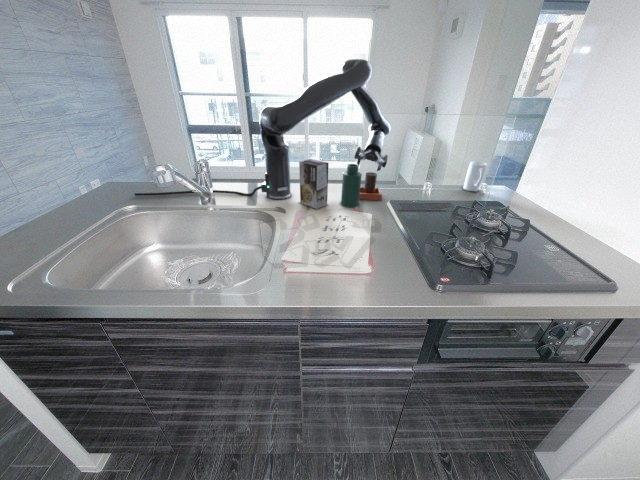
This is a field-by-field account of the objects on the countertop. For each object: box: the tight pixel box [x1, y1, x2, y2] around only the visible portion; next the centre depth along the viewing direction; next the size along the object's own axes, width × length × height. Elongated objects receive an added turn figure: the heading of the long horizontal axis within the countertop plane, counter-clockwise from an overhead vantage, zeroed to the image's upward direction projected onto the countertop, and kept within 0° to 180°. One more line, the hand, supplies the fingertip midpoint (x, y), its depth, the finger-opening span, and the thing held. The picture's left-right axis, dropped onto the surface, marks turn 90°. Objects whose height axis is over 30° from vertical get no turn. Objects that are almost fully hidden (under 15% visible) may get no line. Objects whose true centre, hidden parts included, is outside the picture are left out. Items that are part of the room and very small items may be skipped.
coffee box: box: [298, 158, 329, 210], centre depth 99 cm, size 9×6×16 cm
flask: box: [340, 163, 363, 208], centre depth 100 cm, size 7×7×15 cm
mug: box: [462, 160, 488, 192], centre depth 119 cm, size 10×7×12 cm, turn 173°
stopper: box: [363, 171, 378, 194], centre depth 109 cm, size 5×5×9 cm
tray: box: [359, 186, 382, 201], centre depth 111 cm, size 9×8×2 cm
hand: (368, 166), depth 113 cm, fingers open, 8 cm apart
